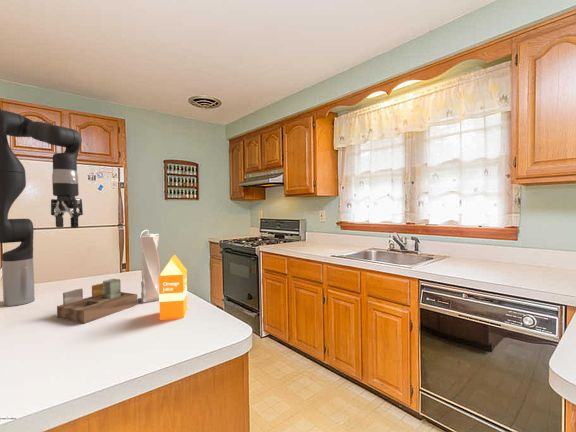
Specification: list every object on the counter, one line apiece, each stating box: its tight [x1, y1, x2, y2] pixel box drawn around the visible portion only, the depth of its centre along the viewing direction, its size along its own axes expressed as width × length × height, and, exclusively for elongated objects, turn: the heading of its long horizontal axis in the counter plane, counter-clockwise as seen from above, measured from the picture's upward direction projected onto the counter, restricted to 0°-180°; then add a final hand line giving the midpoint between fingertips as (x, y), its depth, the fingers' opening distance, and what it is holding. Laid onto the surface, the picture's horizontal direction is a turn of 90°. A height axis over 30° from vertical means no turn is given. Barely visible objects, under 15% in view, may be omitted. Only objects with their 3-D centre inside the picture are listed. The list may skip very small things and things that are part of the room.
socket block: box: [56, 282, 139, 324], centre depth 108 cm, size 14×20×8 cm
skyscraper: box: [137, 229, 161, 305], centre depth 121 cm, size 8×8×28 cm
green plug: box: [102, 278, 122, 299], centre depth 112 cm, size 4×4×10 cm
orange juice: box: [158, 254, 188, 321], centre depth 103 cm, size 8×9×20 cm
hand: (67, 227), depth 109 cm, fingers open, 8 cm apart
